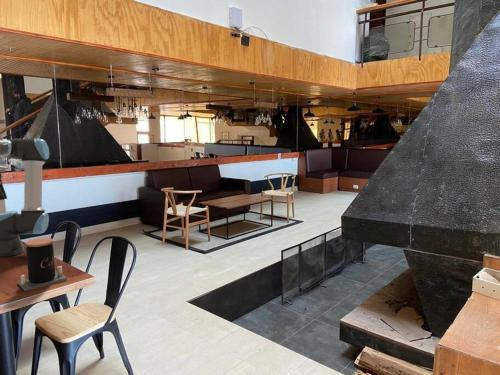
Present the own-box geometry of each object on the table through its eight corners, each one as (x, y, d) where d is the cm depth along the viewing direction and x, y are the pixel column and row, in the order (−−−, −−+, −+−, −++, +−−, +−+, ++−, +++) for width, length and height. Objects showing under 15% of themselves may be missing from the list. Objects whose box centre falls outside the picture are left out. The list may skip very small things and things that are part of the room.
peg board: (25, 291, 156) (24, 279, 155) (17, 283, 163) (16, 272, 163) (66, 280, 168) (66, 269, 168) (58, 273, 176) (57, 263, 175)
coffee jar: (44, 285, 160) (41, 245, 157) (22, 283, 161) (19, 244, 159) (60, 275, 170) (58, 238, 167) (40, 274, 172) (37, 237, 169)
